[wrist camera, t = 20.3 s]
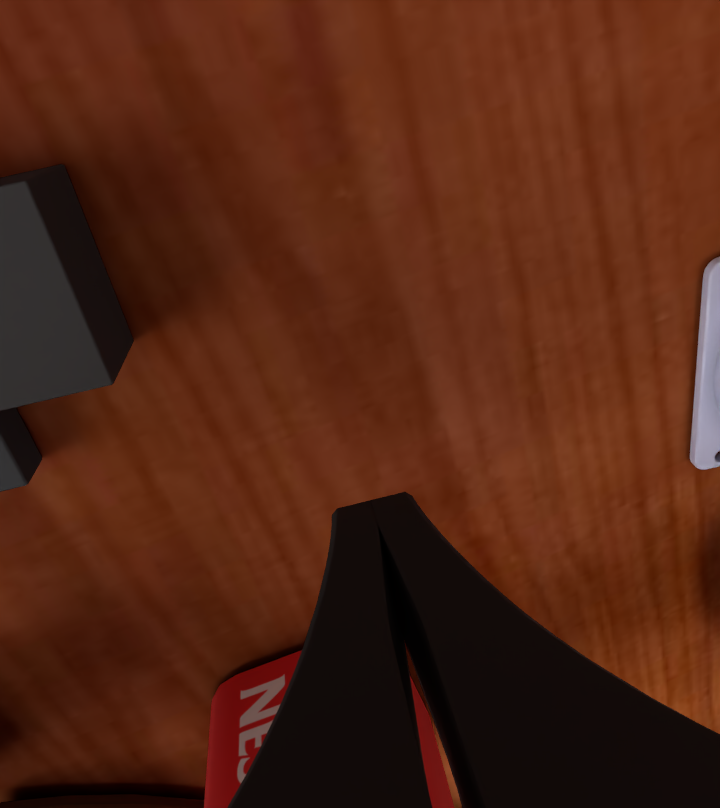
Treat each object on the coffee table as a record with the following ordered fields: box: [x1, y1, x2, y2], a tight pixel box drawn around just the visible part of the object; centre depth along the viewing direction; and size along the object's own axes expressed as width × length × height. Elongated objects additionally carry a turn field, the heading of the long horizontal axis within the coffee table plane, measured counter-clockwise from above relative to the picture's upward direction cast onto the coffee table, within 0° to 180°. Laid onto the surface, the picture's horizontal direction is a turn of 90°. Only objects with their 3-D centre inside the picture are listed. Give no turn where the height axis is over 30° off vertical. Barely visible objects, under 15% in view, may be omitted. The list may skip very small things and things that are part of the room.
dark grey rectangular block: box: [0, 164, 133, 411], centre depth 16 cm, size 4×5×3 cm
